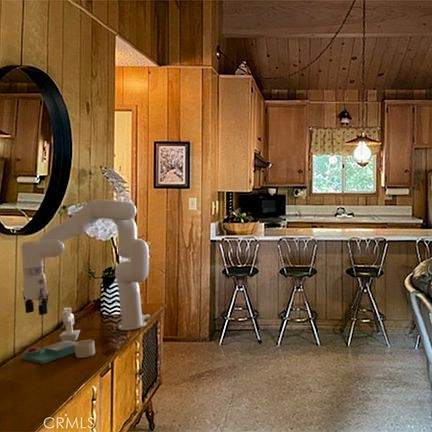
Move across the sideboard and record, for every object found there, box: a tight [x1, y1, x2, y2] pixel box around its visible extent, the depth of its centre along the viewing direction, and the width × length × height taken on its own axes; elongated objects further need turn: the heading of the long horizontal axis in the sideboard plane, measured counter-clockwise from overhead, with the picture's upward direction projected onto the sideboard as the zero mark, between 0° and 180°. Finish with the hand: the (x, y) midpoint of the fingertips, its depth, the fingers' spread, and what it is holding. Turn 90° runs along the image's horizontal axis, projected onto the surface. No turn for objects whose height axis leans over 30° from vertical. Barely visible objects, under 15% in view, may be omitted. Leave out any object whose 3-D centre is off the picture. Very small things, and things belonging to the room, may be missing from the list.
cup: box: [74, 339, 96, 359], centre depth 198 cm, size 7×7×5 cm
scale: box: [22, 347, 59, 365], centre depth 200 cm, size 16×14×3 cm
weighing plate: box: [42, 340, 78, 359], centre depth 201 cm, size 10×10×4 cm
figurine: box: [58, 307, 81, 342], centre depth 218 cm, size 7×9×15 cm
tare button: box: [27, 345, 38, 352], centre depth 198 cm, size 3×3×2 cm
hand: (36, 313), depth 199 cm, fingers open, 9 cm apart
